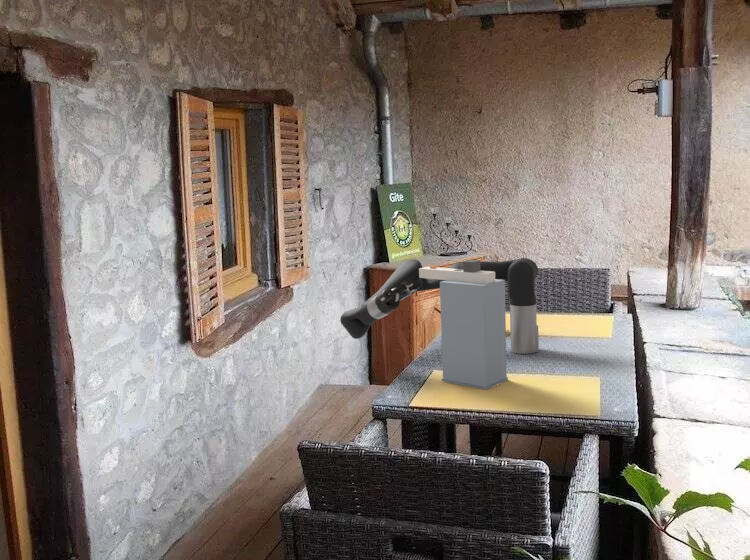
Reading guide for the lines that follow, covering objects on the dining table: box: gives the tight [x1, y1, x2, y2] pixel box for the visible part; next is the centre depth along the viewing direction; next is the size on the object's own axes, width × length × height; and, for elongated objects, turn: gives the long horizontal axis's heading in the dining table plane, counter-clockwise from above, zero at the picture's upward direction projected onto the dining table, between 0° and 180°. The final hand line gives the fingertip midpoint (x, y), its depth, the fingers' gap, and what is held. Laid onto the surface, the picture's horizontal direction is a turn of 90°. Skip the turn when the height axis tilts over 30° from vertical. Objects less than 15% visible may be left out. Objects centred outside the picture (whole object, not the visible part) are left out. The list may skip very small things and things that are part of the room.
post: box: [439, 279, 509, 391], centre depth 241 cm, size 17×13×32 cm
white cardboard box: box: [419, 259, 495, 284], centre depth 242 cm, size 26×4×6 cm, turn 49°
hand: (413, 283), depth 253 cm, fingers open, 8 cm apart
